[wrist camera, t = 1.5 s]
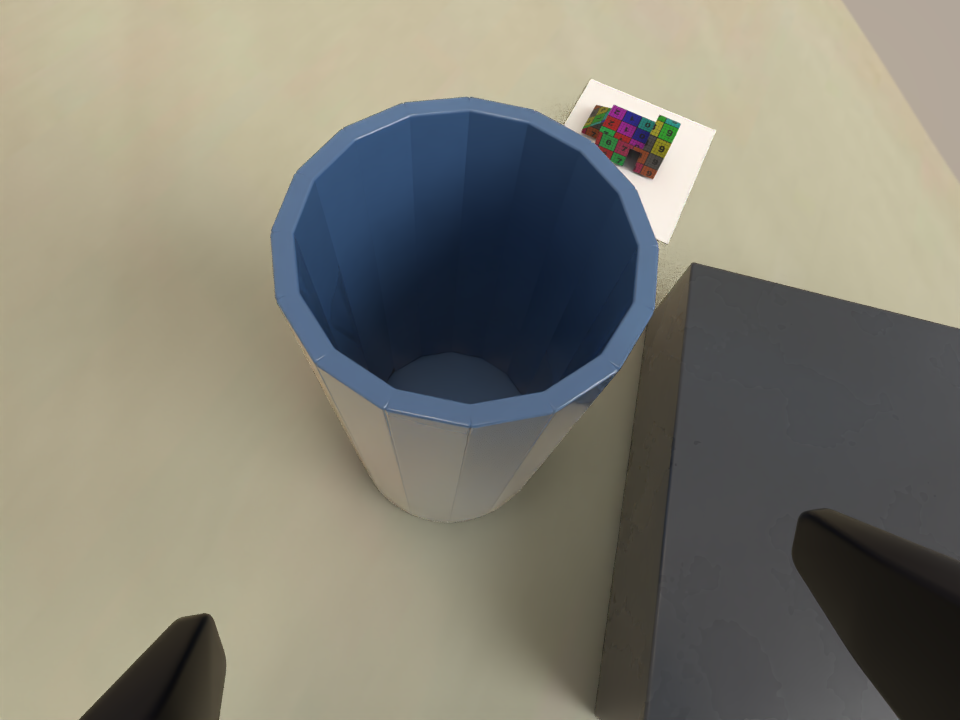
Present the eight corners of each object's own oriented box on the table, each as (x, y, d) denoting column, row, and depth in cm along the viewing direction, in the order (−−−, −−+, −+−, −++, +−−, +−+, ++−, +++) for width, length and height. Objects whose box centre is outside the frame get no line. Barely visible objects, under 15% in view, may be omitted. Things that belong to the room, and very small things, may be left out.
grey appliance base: (959, 814, 18) (1120, 881, 14) (593, 716, 18) (641, 751, 14) (921, 378, 24) (1023, 332, 20) (648, 310, 24) (693, 250, 20)
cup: (572, 456, 21) (735, 293, 10) (421, 561, 19) (405, 512, 8) (473, 321, 23) (513, 54, 12) (327, 406, 21) (204, 184, 10)
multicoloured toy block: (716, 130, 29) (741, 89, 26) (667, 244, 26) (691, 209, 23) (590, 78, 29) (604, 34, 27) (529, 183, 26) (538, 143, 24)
